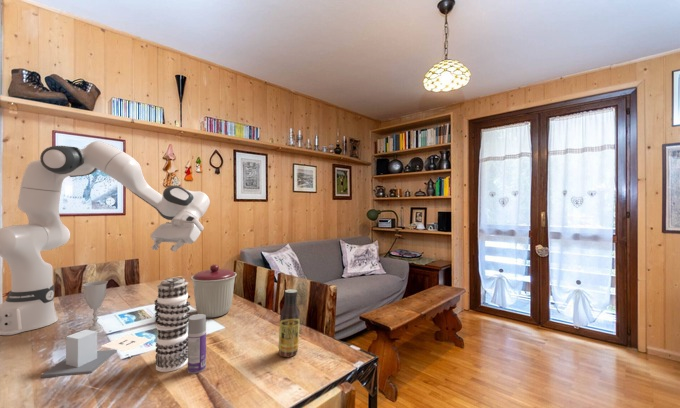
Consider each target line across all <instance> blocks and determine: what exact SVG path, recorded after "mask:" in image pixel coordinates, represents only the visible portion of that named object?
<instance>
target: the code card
mask: <svg viewBox="0 0 680 408" xmlns="http://www.w3.org/2000/svg"><path fill="white" fill-rule="evenodd" d="M150 341H153V339H152V338H147V337H143V336H136V335H132V334H126V335H123V336H121V337H118V338H116V339H113V340H111V341H109V342H107V343H105V344H102V345H101V347H102V348H106V349H110V350H117V351H121V352H125V353H128V352H130V351H132V350H133V349H136V348H139V347H140V346H142V345H144V344H146V343H148V342H150Z"/></svg>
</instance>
